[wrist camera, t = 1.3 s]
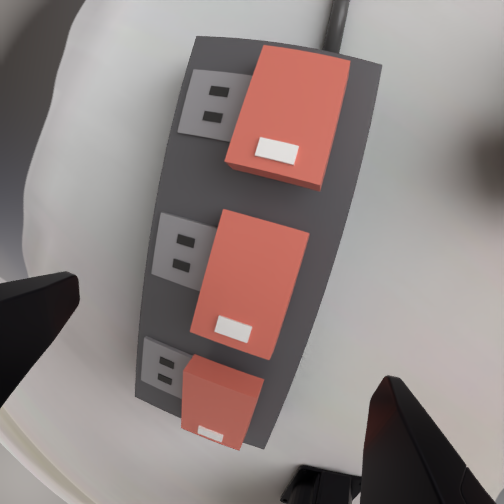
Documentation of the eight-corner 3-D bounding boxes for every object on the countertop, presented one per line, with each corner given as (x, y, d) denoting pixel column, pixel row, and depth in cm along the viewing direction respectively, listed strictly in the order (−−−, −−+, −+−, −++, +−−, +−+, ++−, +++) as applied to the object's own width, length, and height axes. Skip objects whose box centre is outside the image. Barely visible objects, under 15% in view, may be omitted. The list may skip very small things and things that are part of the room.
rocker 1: (319, 191, 14) (320, 184, 12) (233, 169, 14) (223, 160, 13) (348, 75, 13) (350, 59, 12) (268, 60, 14) (263, 43, 13)
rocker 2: (273, 351, 16) (268, 361, 14) (199, 325, 16) (188, 332, 15) (309, 234, 15) (308, 232, 14) (231, 212, 16) (222, 208, 15)
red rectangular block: (246, 434, 19) (238, 452, 18) (190, 413, 20) (180, 429, 18) (264, 379, 16) (255, 400, 15) (194, 353, 17) (181, 372, 16)
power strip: (275, 415, 23) (262, 455, 19) (160, 370, 25) (130, 400, 21) (392, -32, 14) (398, -70, 10) (256, -51, 16) (239, -87, 12)
